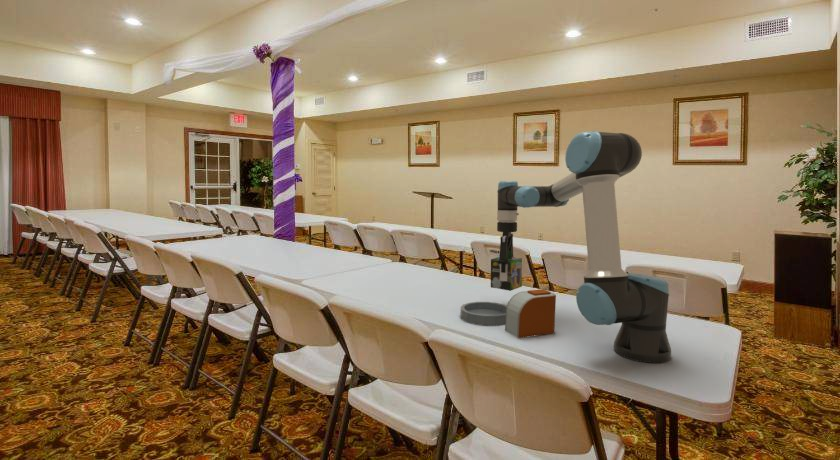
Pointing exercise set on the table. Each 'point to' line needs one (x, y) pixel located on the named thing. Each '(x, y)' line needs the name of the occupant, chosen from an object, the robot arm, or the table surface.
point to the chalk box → (512, 273)
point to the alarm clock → (531, 313)
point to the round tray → (484, 313)
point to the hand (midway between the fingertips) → (506, 278)
